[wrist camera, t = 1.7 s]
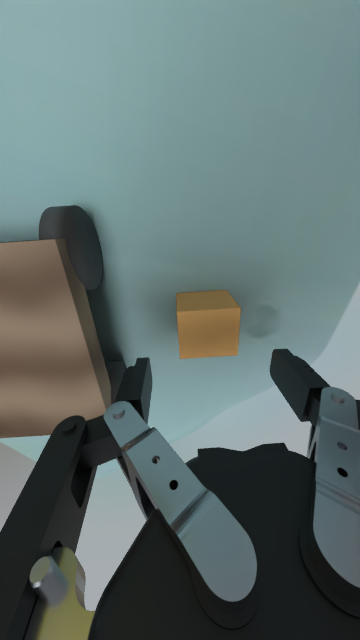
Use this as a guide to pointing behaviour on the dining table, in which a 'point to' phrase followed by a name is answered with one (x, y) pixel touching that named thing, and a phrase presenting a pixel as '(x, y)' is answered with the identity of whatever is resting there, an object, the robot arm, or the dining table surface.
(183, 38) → the dining table surface
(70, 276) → the trolley
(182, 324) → the block
